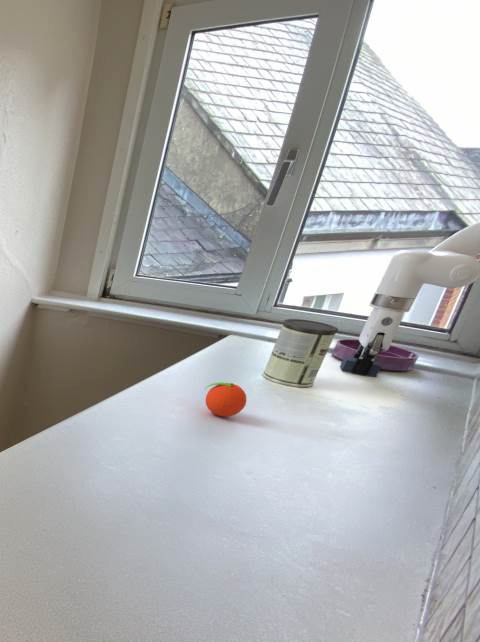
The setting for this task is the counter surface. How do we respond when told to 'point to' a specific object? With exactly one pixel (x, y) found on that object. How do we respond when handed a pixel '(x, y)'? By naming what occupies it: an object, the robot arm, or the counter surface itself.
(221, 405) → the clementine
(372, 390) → the counter surface
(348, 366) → the eraser
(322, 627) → the counter surface
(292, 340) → the coffee can
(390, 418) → the counter surface
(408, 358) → the bowl
